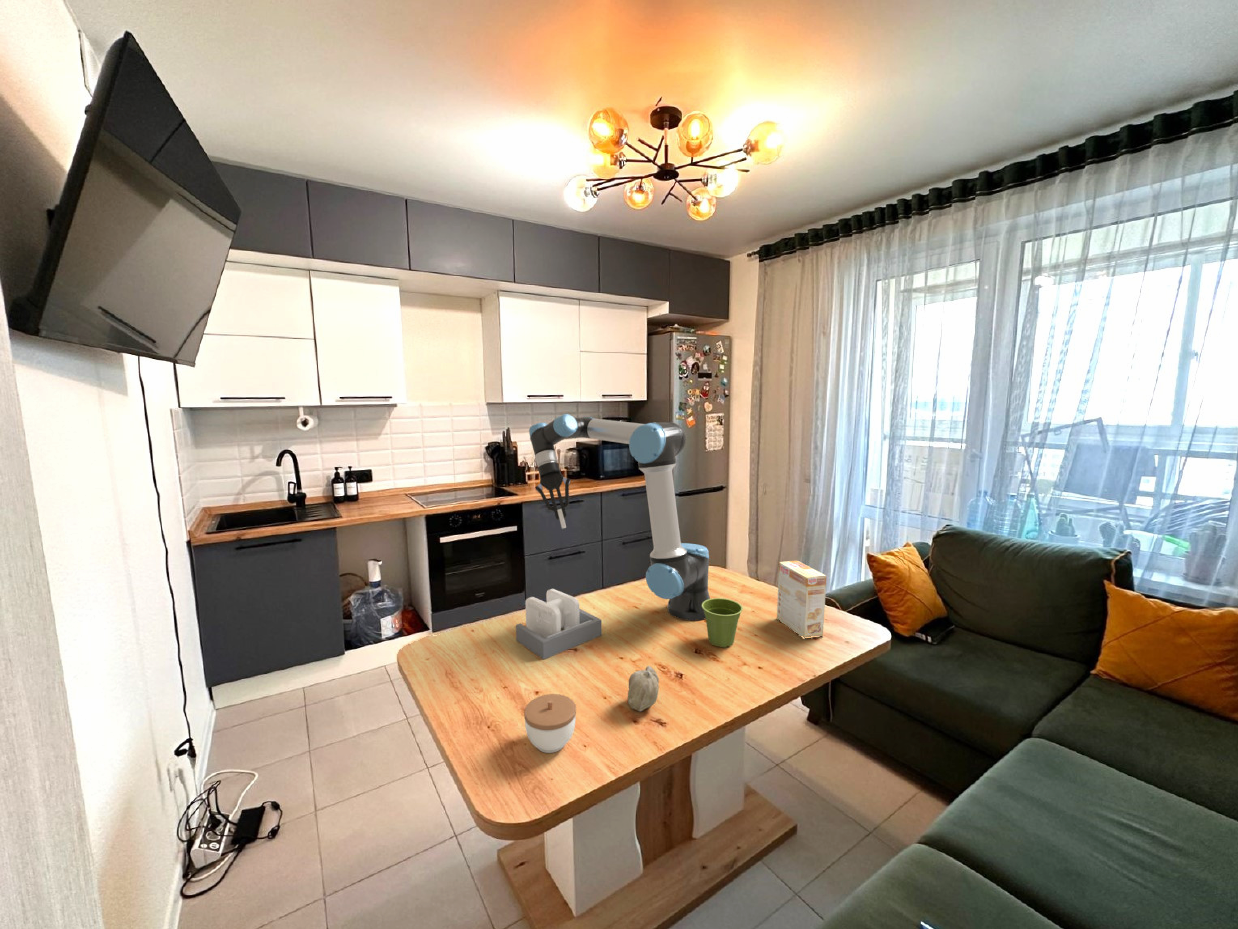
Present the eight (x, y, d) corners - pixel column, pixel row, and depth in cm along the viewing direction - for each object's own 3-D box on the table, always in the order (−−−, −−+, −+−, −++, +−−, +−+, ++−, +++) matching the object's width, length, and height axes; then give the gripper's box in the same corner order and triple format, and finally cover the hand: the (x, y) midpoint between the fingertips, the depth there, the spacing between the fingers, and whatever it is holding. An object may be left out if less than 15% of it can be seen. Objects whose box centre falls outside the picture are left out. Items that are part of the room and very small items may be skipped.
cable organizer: (582, 636, 150) (581, 599, 149) (555, 649, 142) (554, 610, 141) (550, 621, 160) (550, 586, 159) (524, 632, 153) (523, 596, 151)
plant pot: (693, 642, 146) (693, 606, 145) (715, 629, 155) (716, 594, 153) (727, 656, 138) (728, 618, 137) (749, 641, 146) (750, 605, 145)
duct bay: (601, 635, 151) (601, 619, 150) (543, 659, 137) (543, 642, 136) (572, 619, 161) (572, 605, 161) (516, 640, 147) (516, 624, 147)
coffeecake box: (823, 637, 149) (827, 575, 147) (803, 640, 148) (806, 577, 145) (794, 616, 164) (797, 559, 161) (775, 618, 162) (778, 561, 159)
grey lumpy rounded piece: (645, 703, 121) (652, 661, 123) (666, 716, 114) (673, 671, 115) (613, 703, 116) (620, 659, 118) (633, 717, 109) (640, 670, 111)
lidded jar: (538, 722, 110) (538, 683, 109) (583, 731, 107) (583, 691, 106) (515, 755, 100) (514, 712, 99) (564, 766, 97) (563, 722, 96)
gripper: (566, 463, 182) (582, 524, 176) (531, 472, 181) (546, 534, 175) (564, 457, 175) (581, 520, 169) (528, 466, 173) (544, 531, 167)
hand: (564, 527), depth 172 cm, fingers closed
